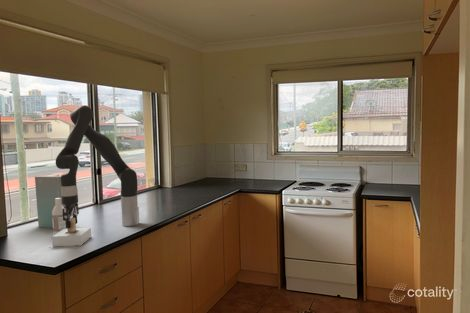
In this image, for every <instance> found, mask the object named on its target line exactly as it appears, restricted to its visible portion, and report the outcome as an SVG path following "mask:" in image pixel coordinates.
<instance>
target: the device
mask: <svg viewBox="0 0 470 313" xmlns="http://www.w3.org/2000/svg"><path fill="white" fill-rule="evenodd" d="M34 184H35V185H34V186H35V196H36V199H35V200H36V211H37V222H38V223H37V224H38V227H39V228H52V229H53V222H52V211H53V209H54V207H55V198H61V205H62V206H63V207H64V208H65V207H66V205H63V204H62V195H61V175H60V174H49V175H37V176H36V175H35V176H34Z"/></svg>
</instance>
